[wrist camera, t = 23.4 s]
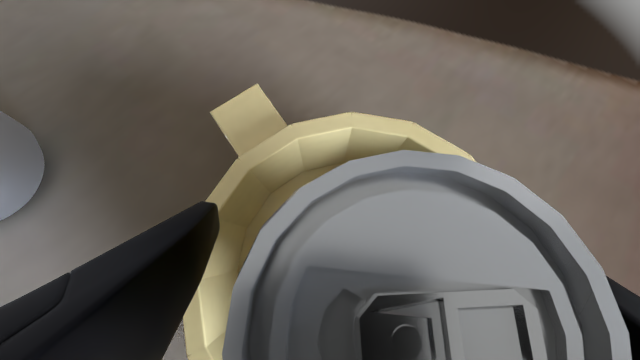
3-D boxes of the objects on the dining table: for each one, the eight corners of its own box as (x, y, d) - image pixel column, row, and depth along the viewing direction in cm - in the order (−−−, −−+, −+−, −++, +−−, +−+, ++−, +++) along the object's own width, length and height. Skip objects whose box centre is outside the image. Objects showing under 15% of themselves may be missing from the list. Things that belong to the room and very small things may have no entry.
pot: (343, 83, 18) (351, 14, 13) (551, 347, 15) (680, 402, 10) (162, 197, 17) (88, 172, 11) (350, 520, 13) (368, 701, 8)
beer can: (393, 216, 16) (590, 125, 4) (404, 326, 15) (727, 622, 3) (292, 221, 16) (210, 143, 4) (295, 331, 15) (191, 653, 3)
